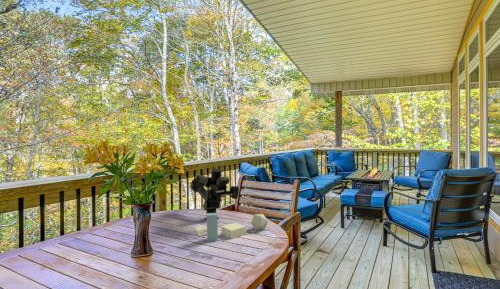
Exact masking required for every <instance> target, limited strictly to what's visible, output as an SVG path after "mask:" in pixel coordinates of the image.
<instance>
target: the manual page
mask: <svg viewBox="0 0 500 289" xmlns="http://www.w3.org/2000/svg"><path fill="white" fill-rule="evenodd" d="M194 230H195V232H196V234H197V236H206V235H207V226H201V227H195V228H194Z"/></svg>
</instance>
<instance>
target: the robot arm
mask: <svg viewBox="0 0 500 289" xmlns="http://www.w3.org/2000/svg"><path fill="white" fill-rule="evenodd" d="M210 174H211V175H210V177H209V176H205V175H203V174H201V175H199V174H198V175H196V176H195V177H194V178H193V179H192V180H191V181H190V182H191V183H190V190H191V191H192V192H195V193H198V194H199V195H200V197H201V198H202V199H203V200H204V202H203V204H202V209H203V210H204V211H206V212H205V213H206V217H204V220H206V221H207V213H217V210H218V209H220V204H221V202H222V201H223V199H222V198H225V197H226V196H230V198H231V199H234V200H238V197H239V193H240V191H239V190H240V187H239V186H237V185H234V186H233V185H232V186H230V190H227V189H228V186H227V185H229V183H230V178H229V177H227V176H222V169H220V168H216V167H215V168H212V169H211V173H210ZM219 219H220V218H219V217H217V220H219Z"/></svg>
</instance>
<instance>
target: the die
mask: <svg viewBox="0 0 500 289" xmlns="http://www.w3.org/2000/svg"><path fill="white" fill-rule="evenodd" d="M268 221H269V220H268V219H267V218H266V216H265V215H264V213H259V214H258V213H257V214H253V216H252V219H251V221H250V224H251V225H252V227H253V228H254V230H255V231H262V230H263V231H264V230H266V228H267V224H268Z"/></svg>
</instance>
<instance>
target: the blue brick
mask: <svg viewBox="0 0 500 289" xmlns="http://www.w3.org/2000/svg"><path fill="white" fill-rule="evenodd" d="M206 217H207V220H206V227H207V234H206V242H218V241H219V240H218V239H219V234H218V219H217V218H218V213H217V212H216V213H207V216H206Z"/></svg>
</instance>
